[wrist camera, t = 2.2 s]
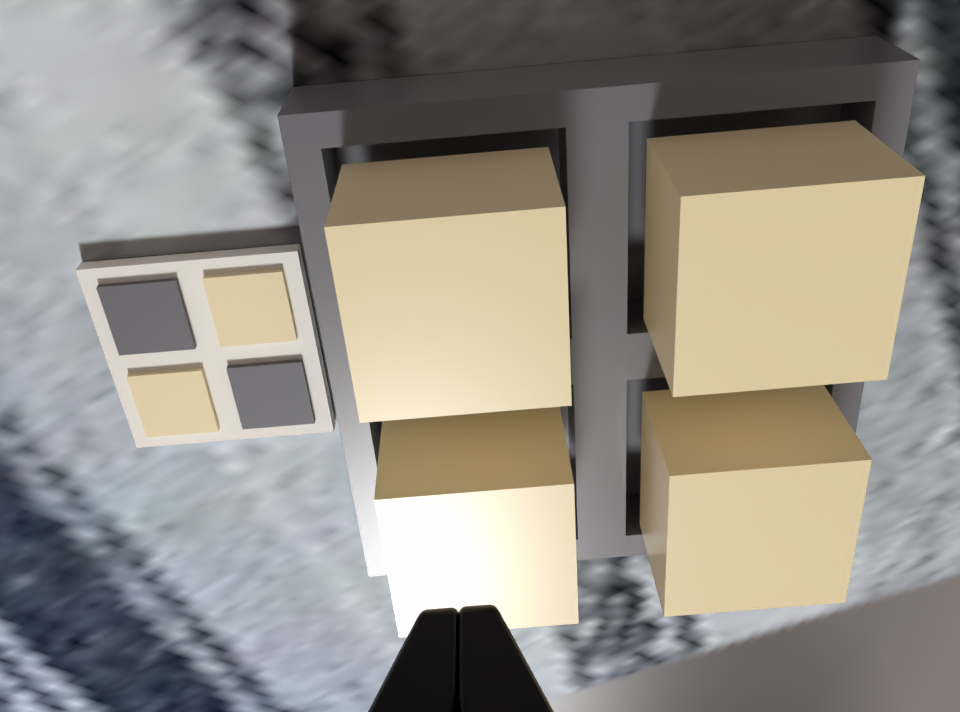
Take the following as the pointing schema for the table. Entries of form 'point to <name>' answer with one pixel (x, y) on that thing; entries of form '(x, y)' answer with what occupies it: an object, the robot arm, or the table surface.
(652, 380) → the button board
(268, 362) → the card
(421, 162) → the button
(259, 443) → the table surface
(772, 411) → the button
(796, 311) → the button
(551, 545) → the button
